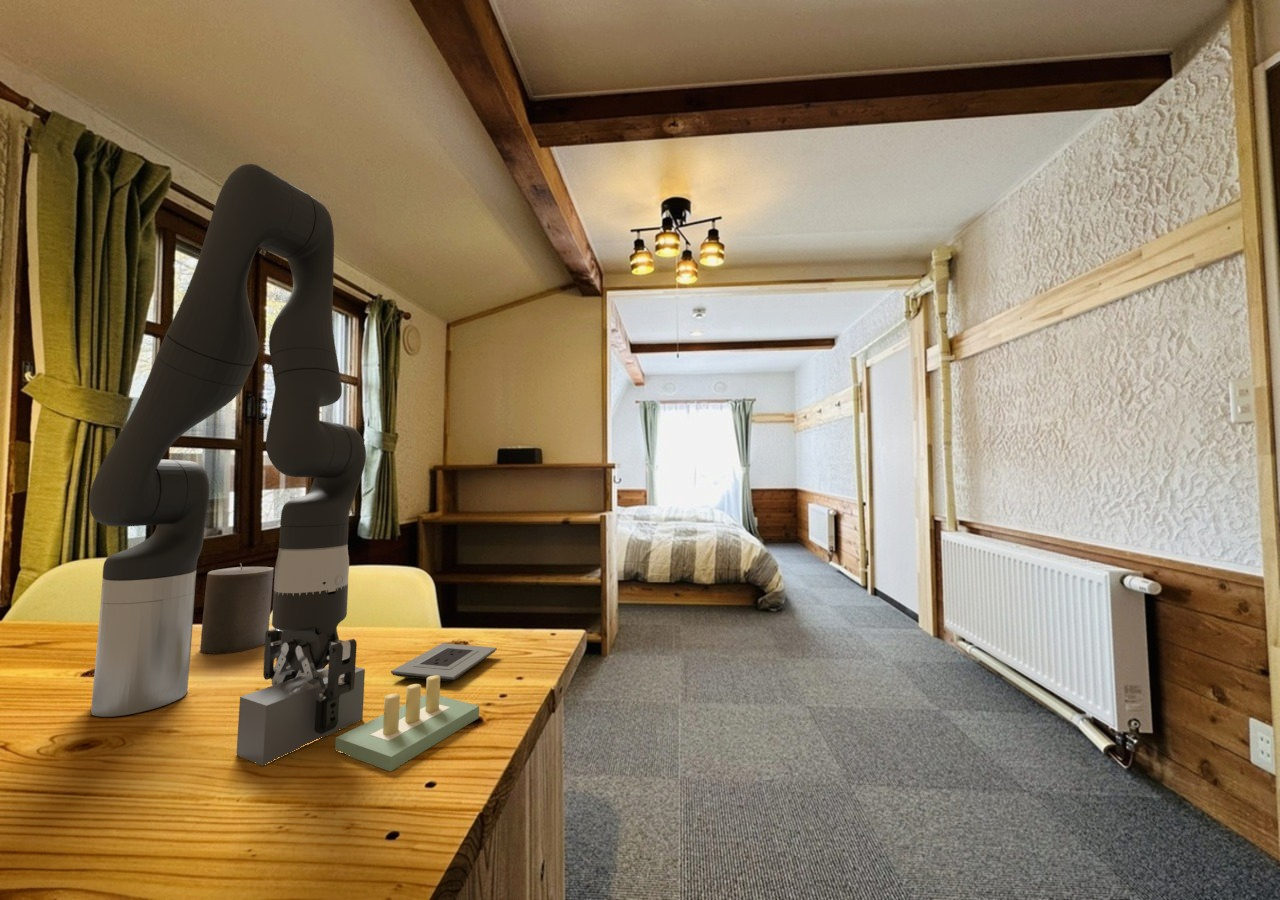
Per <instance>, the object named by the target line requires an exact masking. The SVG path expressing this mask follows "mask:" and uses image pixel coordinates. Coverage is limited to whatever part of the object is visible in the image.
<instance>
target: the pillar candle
mask: <svg viewBox="0 0 1280 900" xmlns="http://www.w3.org/2000/svg"><path fill="white" fill-rule="evenodd" d="M239 565H240V566H237V567H235V566H234V567H227V568H221V569H220V568H219V569H215V570H210V571H208V572H207V575H206V576H207V577H206V584H205V595H204V605H203V613H202V623H201V633H200V635H201V637H200V646H199V647H200V652H201V653H203V654H219V655H220V654H223V655H225V654H231V653H237V652H243V651H247V650H251V649H252V650H253V649H254V648H258V647H260V646H261V647H262V646H263V645H265V633H266V631H267V630H270V622H271V621H270V619H271V618H270V616H271V607H272V594H273V592H272V590H273V582H274V581H273V578H274V570H275V567H268V566H242V565H243V564H242V563H241V562H240V563H239Z"/></svg>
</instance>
